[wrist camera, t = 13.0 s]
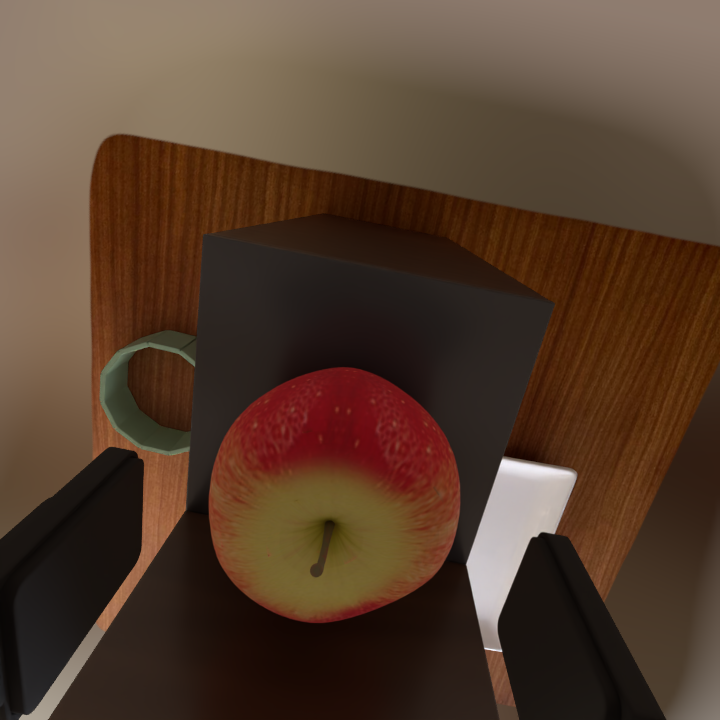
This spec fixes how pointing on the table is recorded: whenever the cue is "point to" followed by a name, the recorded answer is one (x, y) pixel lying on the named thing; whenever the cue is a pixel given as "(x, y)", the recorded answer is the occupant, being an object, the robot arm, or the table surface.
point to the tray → (513, 532)
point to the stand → (262, 374)
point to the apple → (333, 496)
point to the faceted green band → (123, 405)
